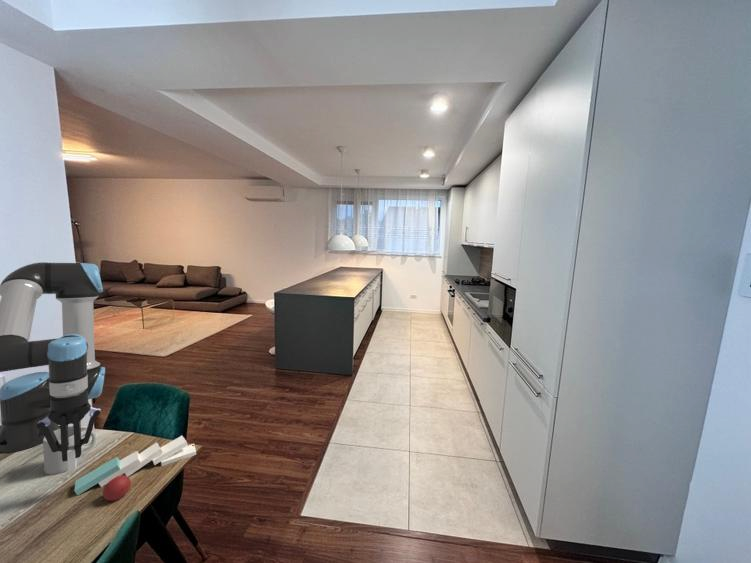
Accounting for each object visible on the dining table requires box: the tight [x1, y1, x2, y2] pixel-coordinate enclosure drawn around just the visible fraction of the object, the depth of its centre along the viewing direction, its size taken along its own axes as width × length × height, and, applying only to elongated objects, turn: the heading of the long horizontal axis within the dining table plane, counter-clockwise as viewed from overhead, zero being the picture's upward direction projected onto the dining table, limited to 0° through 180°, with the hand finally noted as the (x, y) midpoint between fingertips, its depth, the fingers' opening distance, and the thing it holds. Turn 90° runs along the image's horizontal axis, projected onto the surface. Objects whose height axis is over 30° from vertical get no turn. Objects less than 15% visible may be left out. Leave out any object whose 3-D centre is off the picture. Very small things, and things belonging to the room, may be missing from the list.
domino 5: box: [160, 443, 197, 467], centre depth 103 cm, size 2×5×10 cm
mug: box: [42, 425, 97, 476], centre depth 96 cm, size 12×8×11 cm
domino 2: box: [98, 450, 141, 488], centre depth 93 cm, size 2×5×10 cm
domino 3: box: [124, 441, 163, 477], centre depth 97 cm, size 2×5×10 cm
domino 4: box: [151, 435, 188, 466], centre depth 102 cm, size 2×5×10 cm
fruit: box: [102, 474, 132, 502], centre depth 85 cm, size 6×6×8 cm
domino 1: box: [74, 456, 121, 496], centre depth 89 cm, size 2×5×10 cm
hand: (72, 468), depth 86 cm, fingers closed
